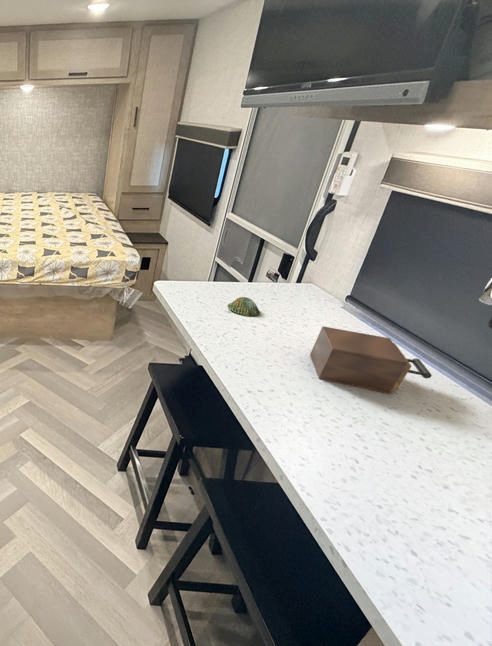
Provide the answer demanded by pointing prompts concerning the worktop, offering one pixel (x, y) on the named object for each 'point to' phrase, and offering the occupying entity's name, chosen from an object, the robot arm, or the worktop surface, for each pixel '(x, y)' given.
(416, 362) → the drawer
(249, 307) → the seashell
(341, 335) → the cabinet
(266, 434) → the worktop surface
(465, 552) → the worktop surface
